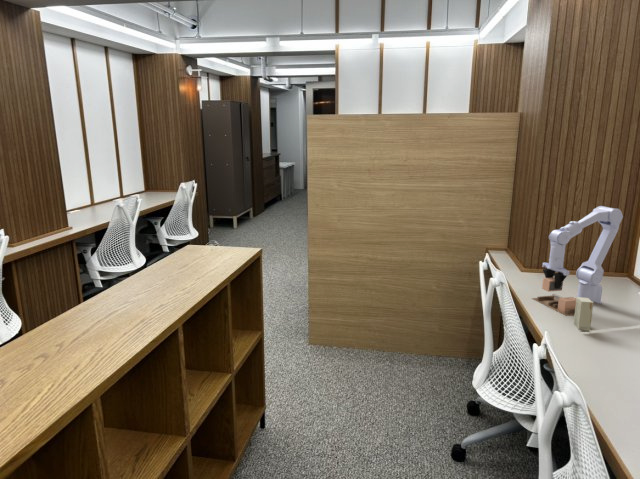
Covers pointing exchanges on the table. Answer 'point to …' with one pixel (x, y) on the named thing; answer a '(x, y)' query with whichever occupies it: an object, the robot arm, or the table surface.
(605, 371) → the table surface
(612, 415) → the table surface
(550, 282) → the peach rectangular block
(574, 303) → the pink block
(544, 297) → the walnut rack
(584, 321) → the skincare box
